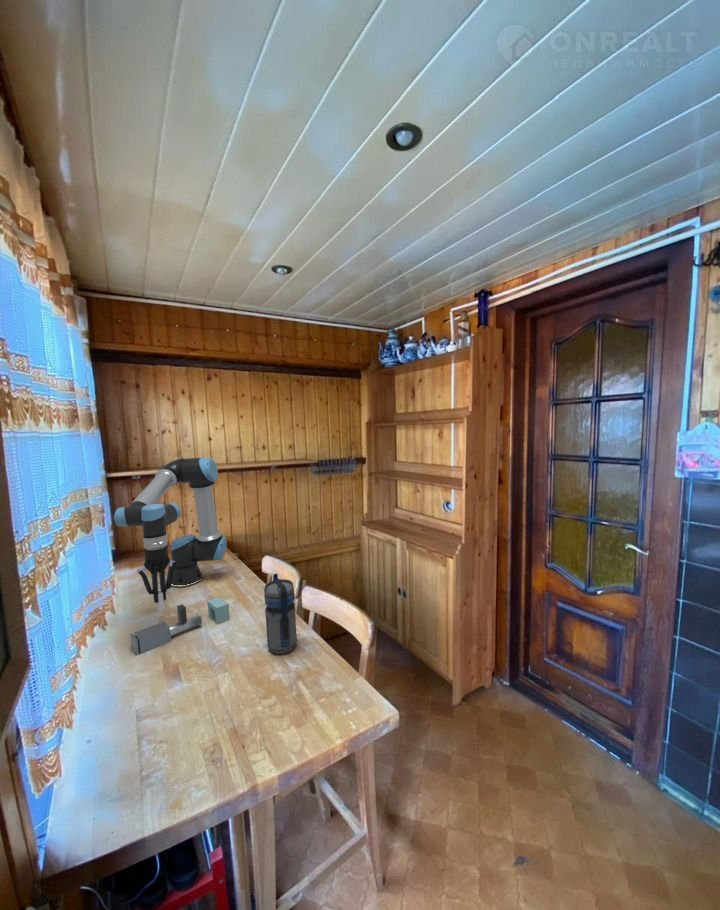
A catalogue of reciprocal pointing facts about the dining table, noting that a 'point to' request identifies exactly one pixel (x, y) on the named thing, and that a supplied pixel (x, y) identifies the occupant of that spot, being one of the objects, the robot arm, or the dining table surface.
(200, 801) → the dining table surface
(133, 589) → the dining table surface
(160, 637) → the outer sleeve
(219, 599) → the pale blue rectangular block
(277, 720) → the dining table surface
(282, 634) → the beverage bottle
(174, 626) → the block with metal shaft
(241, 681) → the dining table surface
